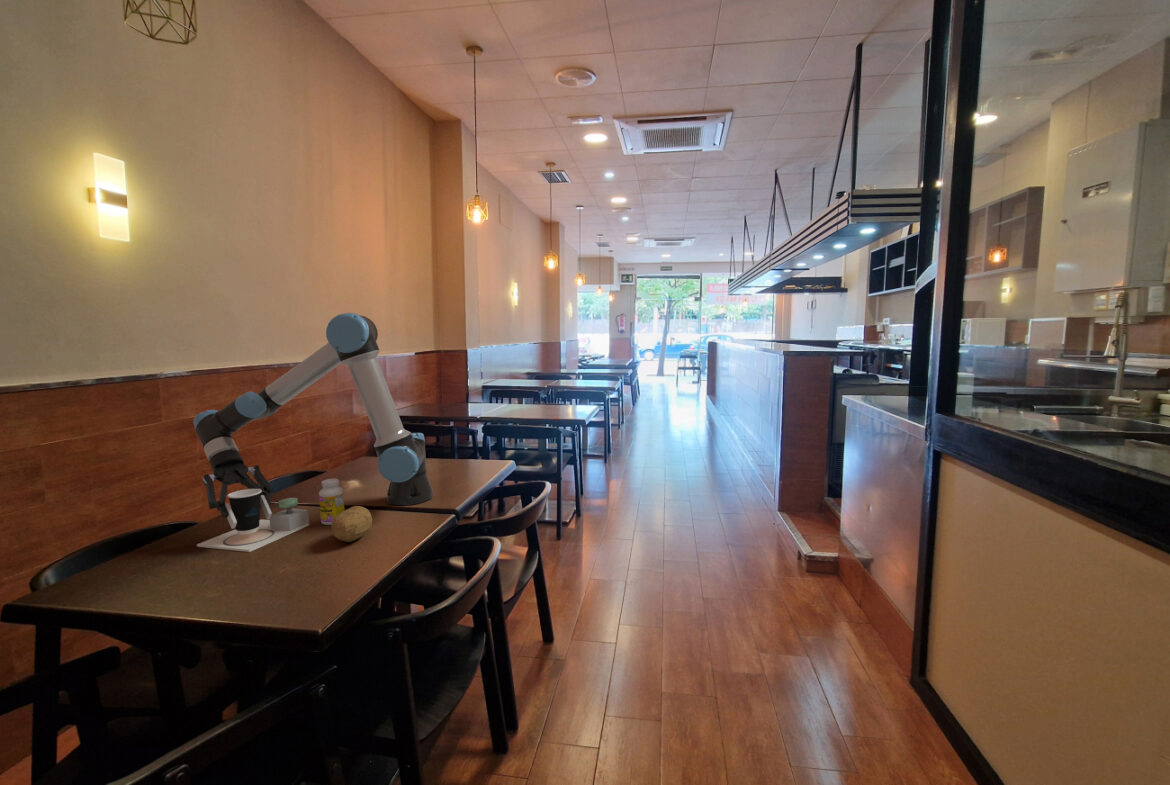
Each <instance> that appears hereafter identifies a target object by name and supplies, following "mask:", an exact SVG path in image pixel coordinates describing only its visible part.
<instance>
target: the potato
mask: <svg viewBox="0 0 1170 785" xmlns="http://www.w3.org/2000/svg"><path fill="white" fill-rule="evenodd" d="M372 524H373V518H372V513H371V512H370V510H369V509H368V508H366V507H364V506H360V505H355V506H351V507H349V508H348V509H346V510H345V511H344V512H342V513H340V514H338V515H337V516H336V517H335V518H334V520H333V522H332V525H330V526H331V532H332V534H333V537H335V538H336V539H338V540H339V541H342V542H346V543H352V542H353V541H356V540H358V539H360V538H361V537H363V536H364V535H365V534H366V533H367V532H368V531H369V530H370V529H371V527H372Z"/></svg>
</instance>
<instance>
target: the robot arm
mask: <svg viewBox="0 0 1170 785" xmlns="http://www.w3.org/2000/svg"><path fill="white" fill-rule="evenodd" d="M378 332H379V331H378V329H377V326H376V324H375V323H374V321H372V320H371V319H370V318H368V317H367V316H364V315H360V314H358V313H354V312H346V313H341V314H340V313H339V314H337V315H336V316H334V317H332V318H331V319H330V321H329V322H328V324H327V326H326V330H325V334H326V335H325V336H326V340H327V343H326V344H324V345H323V346H321V347H320V348H319V349H317V350H316V351H315V352H313V353H312V354H311V355H309V356H308V357H306V358H305V359H304V360H302V361H301V362H299V363H298V364H297V365H295V366H294V367H292V368H291V369H290V370H288V371H286V372H285V373H284V374H283V375H281V376H280V377H278V378H277V379H276V380H275V381H274V380H273V382H271V383H269V384H268V385H267V386H265V387H264V389H261V390H260V391H259V392H254V391H251V390H250V391H247V392H245V393H243V394H242V395H239V396H237V397H236V398H235V399H234V400H232V401H231V402H230V403H228V404H227V405H225V406H224V407H222V408H221V409H220V410H216V409H207V410H205V411H201V412H199V413H198V414H197V415H195V417H194V418H193V422H192V423H193V425H194V432H195V434H196V435H197V437H198V439H199V441H200V443H201V445H202V449H203V452H204V454H205V455H206V458H207V461H208V462H209V465H210V467H211V470H212V472H213V473H212V474H211V473H210V474H207V473H205V474H204V476H203V478H202V483H203V485H204V486H205V489H206V497H207V503H208V508H209V509H210V510H213V509H217V511H219V512H220V514H221V517H222V518H223V519H227V521H228V524H229V526H230V529H231V530H234V529H236V527H235V526H236V524H237V521H236V519H235V516H234V514H233V512H232V509H231V505H230V502H226V497H227V494H228V493H227V492H228V486H231V485H234V484H241V485H242V486H244V487H246V489H261V490H262V492H261V497H260V509H261V510H262V512H263V514H264V516H265V518H266V519H265V520H270V517H271V515H273V512H272V510H271V508H270V507H271V504H272V502H271V500H270V498H269V497H270V496H271V495H272V494H273V491H274V488H273V487H272V485H271V484H270V483H269V481H268V480H267V479H266V477H265V476H264V474H262V472H261V470H260V466H259V464H256V465H254V466H253V467H252V466H249V467H248V465H246V464H245V463H244V460H243V457H242V455H241V453H240V452H239V448H238V446H237V444H236V442H235V440H234V437H233V434H234V433H236V432H237V431H239V430H240V429H242V428H243V427H245V426H246V425H248V424H250V423H251V422H254V421H257V420H261V419H264V418H268V417H271V416H272V415H274V414H275V413H277V411H278V410H279V409H280V408H282V406H284V405H286V404H287V403H288V402H289V401H291V400H292V399H294V398H295V397H296V396H298V395H299V394H300V393H302V392H303V391H305V390H306V389H307V388H309V387H310V386H312V385H313V384H315V383H316V382H318V380H320V379H321V378H324V376H325V375H327V374H328V373H330V372H331V371H333V370H334V369H335V368H337V367H338V366H339V365H341V364H343V365H345V366H347V367H348V369H349V372H350V374H351V377H352V380H353V382H354V384H355V385H354V386H355V387H356V389H357V392H358V395H359V397H360V401H361V402H362V405H363V407H364V410H365V412H366V415H367V418H368V420H369V423H370V425H371V428H372V432H373V433H374V436H375V438H376V439H375V442H374V444H373V448H374V450H375V453H376V456H377V458H378V460H377V468H378V472H379V473H380V475H381V476H382V477H383V478H384V479H386V480H387V481H389V486H388V489H387V493H386V503H387V504H389V505H392V506H409V505H416V504H421V503H424V502H427V501H429V500H431V499H433V497H434V491H433V487H432V485H431V482H430V480H429V477H428V474H427V457H426V440H425V435H424V433H422V432H411V431H409V430H406V429H405V428H404V425H403V423H402V420H401V418H400V415H399V412H398V409H397V406H396V403H395V402H394V400H393V396H392V394H391V391H390V389H389V386H388V383H387V381H386V379H385V375H384V373H383V370H382V367H381V365H380V363H379V360H378V356H379V353H380V352H381V351H380V349H379V346H378V343H377V340H378V337H379V336H378V335H379V334H378ZM248 473H250V475H249V474H248ZM250 476H253V477H250ZM252 478H254V480H253V479H252ZM214 480H217V481H218V482H220V483H221V486H220V492H219V498H218V501H217V498H216V492H215V485H214ZM255 481H256V482H255Z"/></svg>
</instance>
